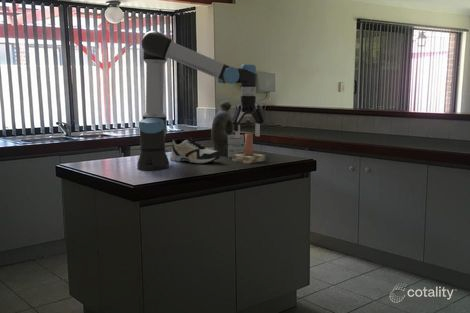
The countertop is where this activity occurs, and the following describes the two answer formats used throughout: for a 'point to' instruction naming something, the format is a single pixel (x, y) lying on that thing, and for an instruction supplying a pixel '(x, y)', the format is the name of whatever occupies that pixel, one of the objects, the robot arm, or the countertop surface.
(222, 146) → the sculpture
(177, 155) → the running shoe
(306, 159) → the countertop surface
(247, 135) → the peg
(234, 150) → the ink box
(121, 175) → the countertop surface
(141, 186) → the countertop surface
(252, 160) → the socket
